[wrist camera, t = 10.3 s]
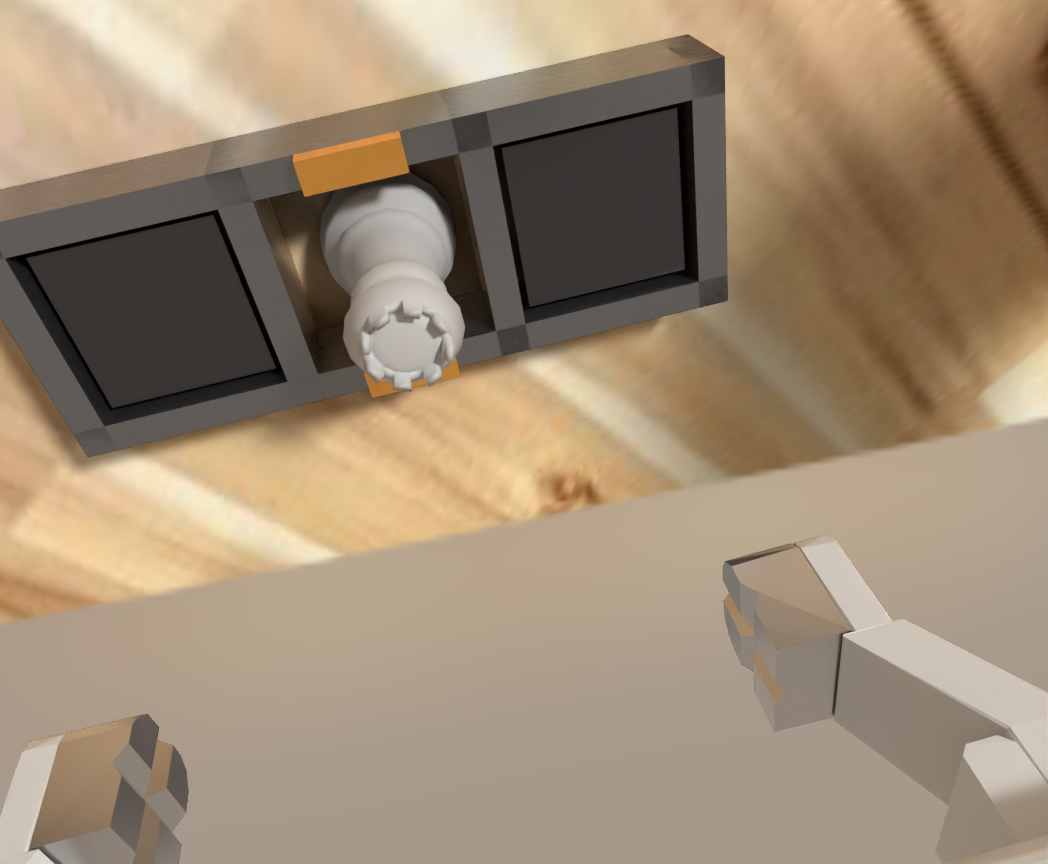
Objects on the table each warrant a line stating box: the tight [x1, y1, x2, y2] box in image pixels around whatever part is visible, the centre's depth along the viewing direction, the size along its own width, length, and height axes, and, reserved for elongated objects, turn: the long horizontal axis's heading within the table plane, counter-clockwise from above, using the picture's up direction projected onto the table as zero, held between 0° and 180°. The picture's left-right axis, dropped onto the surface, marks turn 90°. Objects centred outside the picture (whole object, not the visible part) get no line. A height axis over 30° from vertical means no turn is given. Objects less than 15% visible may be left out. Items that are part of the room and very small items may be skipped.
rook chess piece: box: [320, 173, 465, 391], centre depth 25 cm, size 4×4×8 cm
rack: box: [0, 35, 728, 457], centre depth 27 cm, size 22×8×4 cm, turn 99°
